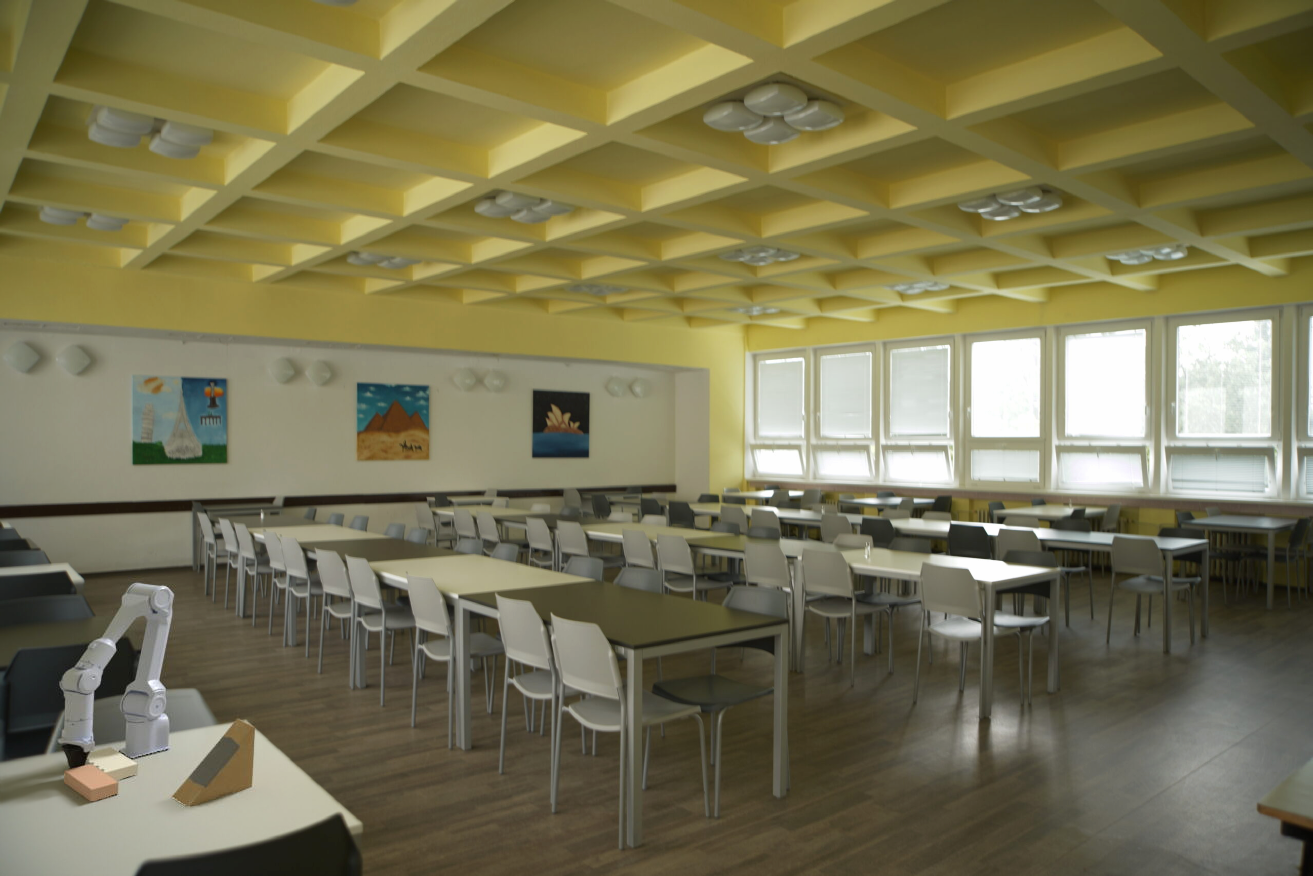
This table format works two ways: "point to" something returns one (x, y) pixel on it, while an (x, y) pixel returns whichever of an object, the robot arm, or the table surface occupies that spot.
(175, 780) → the table surface
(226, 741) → the sandwich container
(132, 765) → the board
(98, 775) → the block
